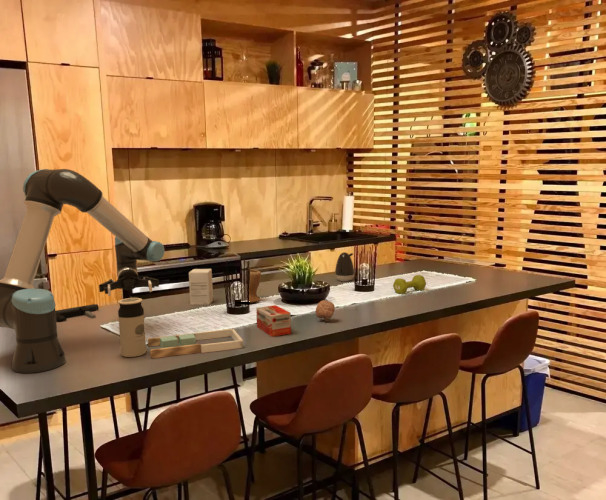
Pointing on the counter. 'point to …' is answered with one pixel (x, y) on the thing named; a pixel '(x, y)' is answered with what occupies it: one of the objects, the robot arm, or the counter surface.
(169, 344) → the chip
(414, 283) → the dumbbell
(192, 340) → the chip
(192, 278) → the supplement box
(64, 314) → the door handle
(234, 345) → the tray
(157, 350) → the slot rails
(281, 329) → the medicine box
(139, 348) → the travel mug
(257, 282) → the brown boot
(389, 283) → the counter surface
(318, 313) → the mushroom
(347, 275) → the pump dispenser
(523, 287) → the counter surface
